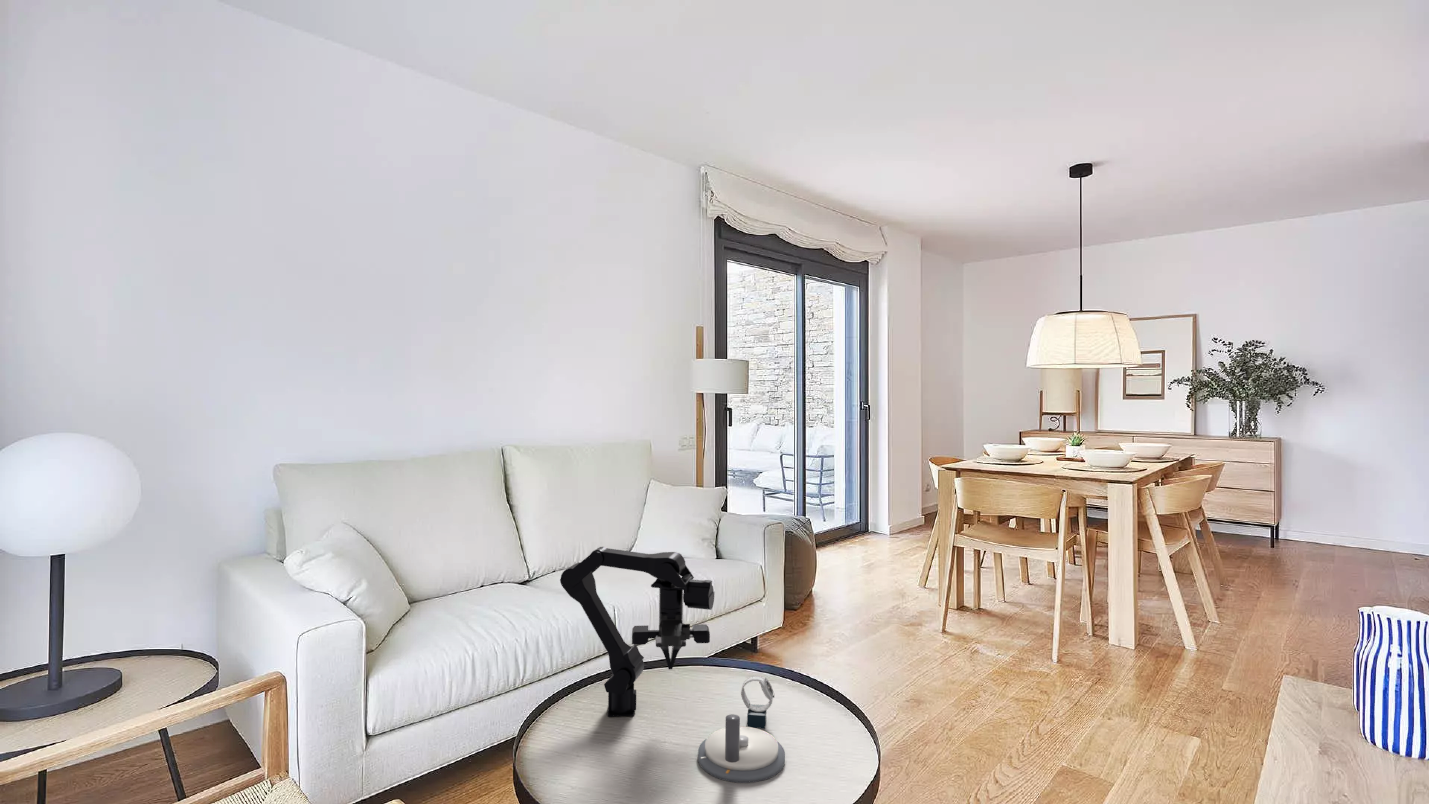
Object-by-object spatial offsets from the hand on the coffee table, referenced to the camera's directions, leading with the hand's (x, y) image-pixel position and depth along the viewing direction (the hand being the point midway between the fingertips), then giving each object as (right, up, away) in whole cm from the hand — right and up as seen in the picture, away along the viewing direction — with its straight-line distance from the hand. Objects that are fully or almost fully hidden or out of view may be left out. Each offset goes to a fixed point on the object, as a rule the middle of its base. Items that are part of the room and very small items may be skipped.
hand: (670, 668), depth 179 cm
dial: (+17, -11, -18) cm, 27 cm away
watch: (+21, -13, -2) cm, 25 cm away
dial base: (+17, -13, -18) cm, 28 cm away
